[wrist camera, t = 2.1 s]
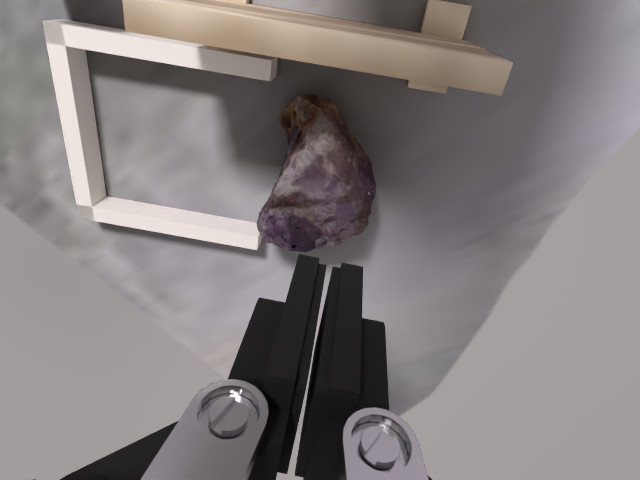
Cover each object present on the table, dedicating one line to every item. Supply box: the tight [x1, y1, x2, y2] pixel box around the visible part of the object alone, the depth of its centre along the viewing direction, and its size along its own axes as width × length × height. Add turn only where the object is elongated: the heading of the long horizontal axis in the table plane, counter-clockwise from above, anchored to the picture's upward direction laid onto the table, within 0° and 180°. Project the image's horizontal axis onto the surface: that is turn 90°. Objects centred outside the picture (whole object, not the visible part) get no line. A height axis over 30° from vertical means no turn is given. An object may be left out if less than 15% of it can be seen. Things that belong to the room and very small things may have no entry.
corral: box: [42, 19, 278, 250], centre depth 36 cm, size 17×18×2 cm
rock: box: [257, 94, 376, 252], centre depth 34 cm, size 12×9×10 cm
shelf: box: [122, 0, 514, 96], centre depth 26 cm, size 6×20×12 cm, turn 82°
